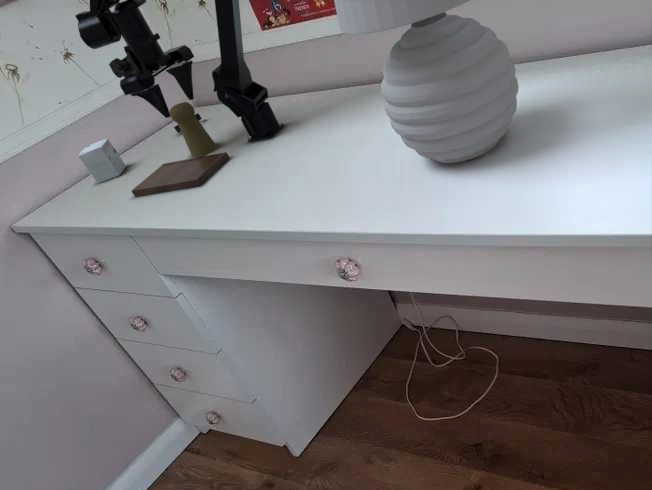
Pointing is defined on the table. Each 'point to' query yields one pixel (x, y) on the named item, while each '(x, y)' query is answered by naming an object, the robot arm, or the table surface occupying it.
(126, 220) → the table surface
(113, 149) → the white cardboard box
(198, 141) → the olive yellow pawn
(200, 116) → the watch
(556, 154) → the table surface
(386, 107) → the table lamp
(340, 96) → the table surface
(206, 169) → the walnut board
